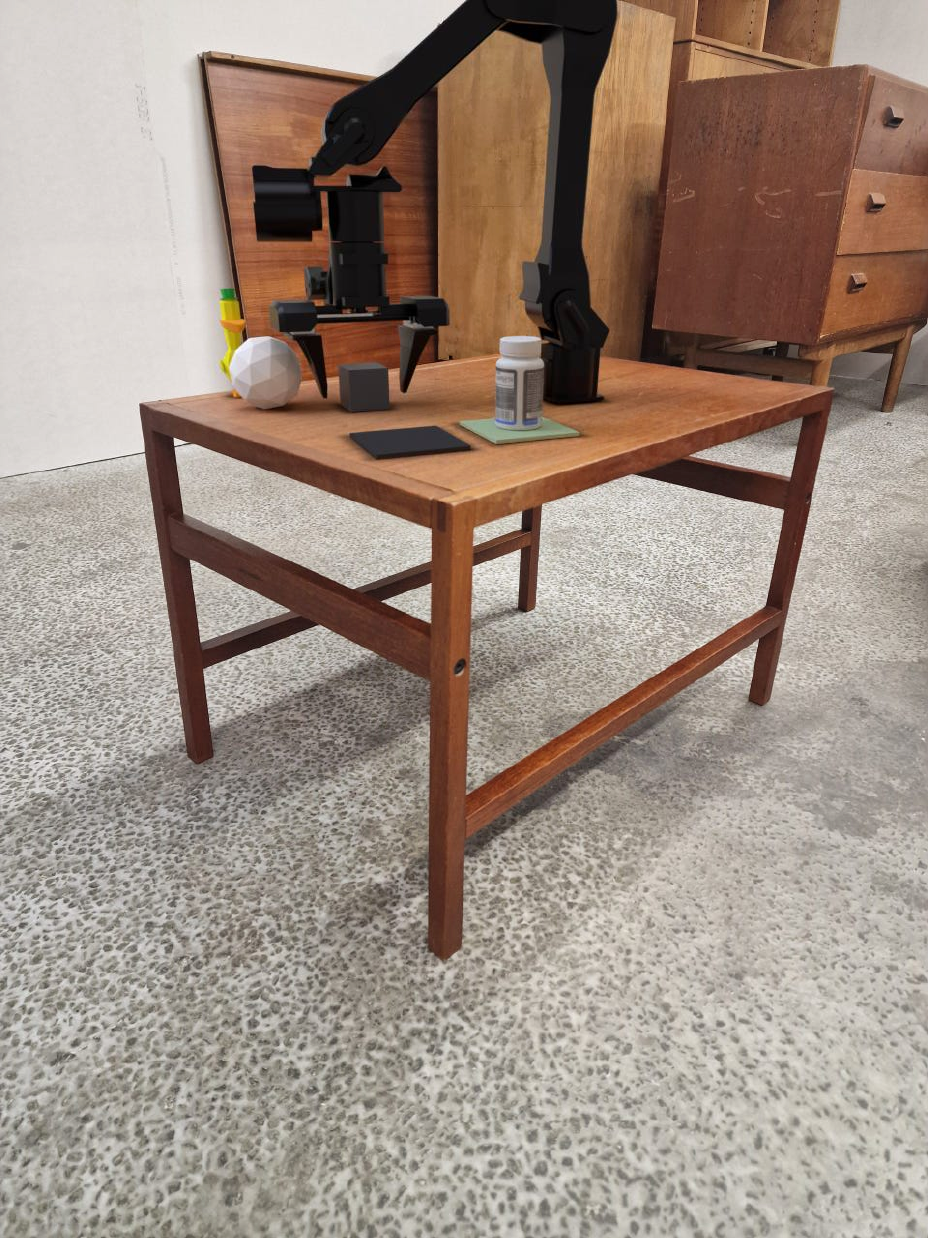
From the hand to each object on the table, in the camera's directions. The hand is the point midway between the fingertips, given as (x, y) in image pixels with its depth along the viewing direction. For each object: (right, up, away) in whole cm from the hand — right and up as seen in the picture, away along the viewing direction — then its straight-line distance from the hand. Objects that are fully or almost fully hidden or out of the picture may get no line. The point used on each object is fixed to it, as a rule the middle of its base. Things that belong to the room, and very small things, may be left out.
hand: (364, 395), depth 90 cm
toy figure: (-16, +1, +6) cm, 17 cm away
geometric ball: (-11, -1, +1) cm, 11 cm away
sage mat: (+17, -6, -10) cm, 20 cm away
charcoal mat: (+6, -9, -15) cm, 18 cm away
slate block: (0, -1, +1) cm, 1 cm away
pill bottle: (+17, -6, -10) cm, 20 cm away
